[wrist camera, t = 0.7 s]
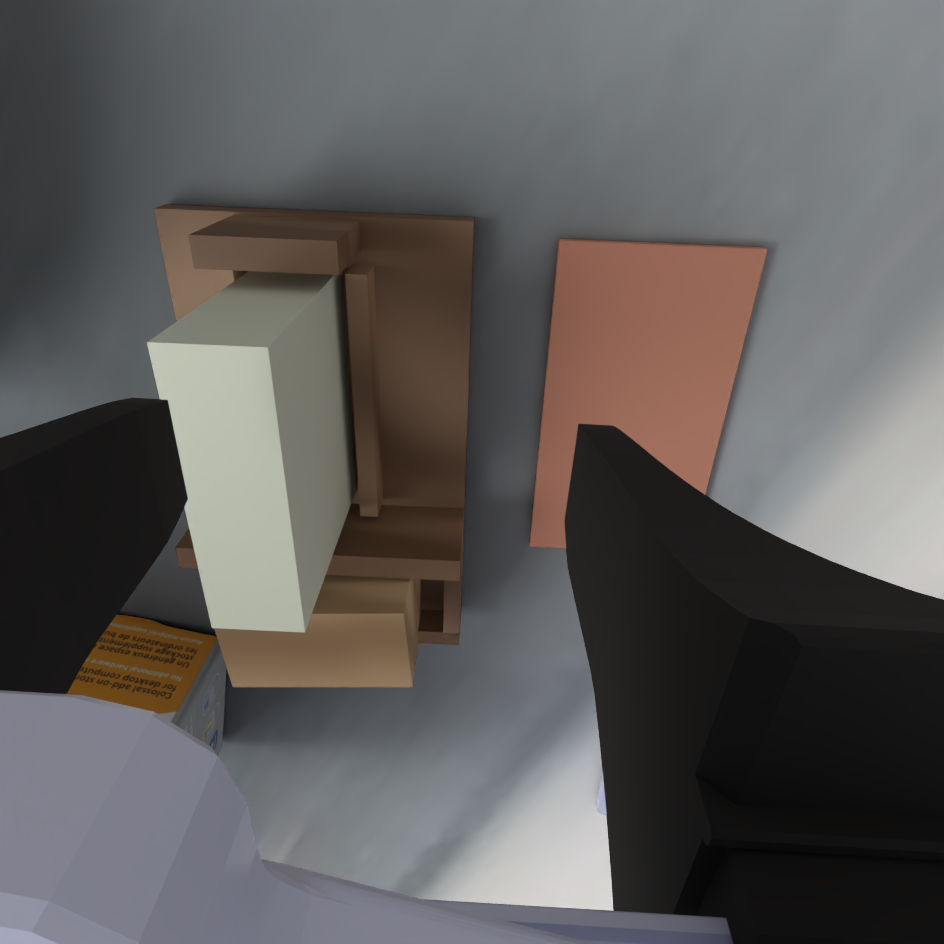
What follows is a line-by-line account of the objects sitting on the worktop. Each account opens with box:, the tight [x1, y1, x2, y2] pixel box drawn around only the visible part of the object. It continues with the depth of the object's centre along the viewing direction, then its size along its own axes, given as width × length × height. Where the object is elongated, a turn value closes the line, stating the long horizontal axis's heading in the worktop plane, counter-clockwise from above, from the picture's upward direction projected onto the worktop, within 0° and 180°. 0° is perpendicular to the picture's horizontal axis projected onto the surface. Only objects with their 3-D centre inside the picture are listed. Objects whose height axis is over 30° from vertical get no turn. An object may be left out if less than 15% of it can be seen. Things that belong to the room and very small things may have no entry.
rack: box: [154, 204, 474, 645], centre depth 21 cm, size 15×9×4 cm, turn 178°
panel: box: [147, 271, 356, 633], centre depth 18 cm, size 8×2×7 cm, turn 178°
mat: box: [529, 239, 768, 548], centre depth 22 cm, size 11×6×1 cm, turn 178°
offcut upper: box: [214, 575, 419, 687], centre depth 21 cm, size 3×6×2 cm, turn 92°
